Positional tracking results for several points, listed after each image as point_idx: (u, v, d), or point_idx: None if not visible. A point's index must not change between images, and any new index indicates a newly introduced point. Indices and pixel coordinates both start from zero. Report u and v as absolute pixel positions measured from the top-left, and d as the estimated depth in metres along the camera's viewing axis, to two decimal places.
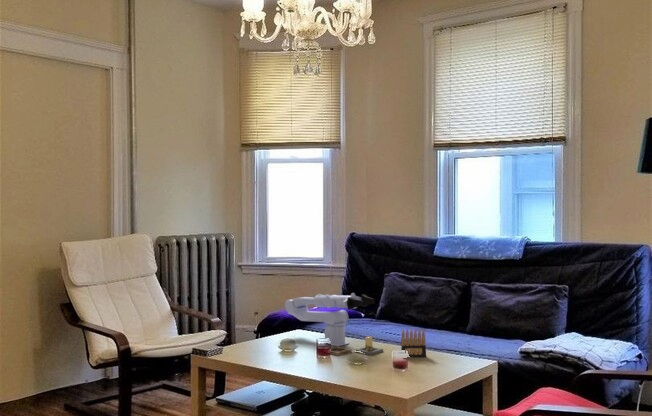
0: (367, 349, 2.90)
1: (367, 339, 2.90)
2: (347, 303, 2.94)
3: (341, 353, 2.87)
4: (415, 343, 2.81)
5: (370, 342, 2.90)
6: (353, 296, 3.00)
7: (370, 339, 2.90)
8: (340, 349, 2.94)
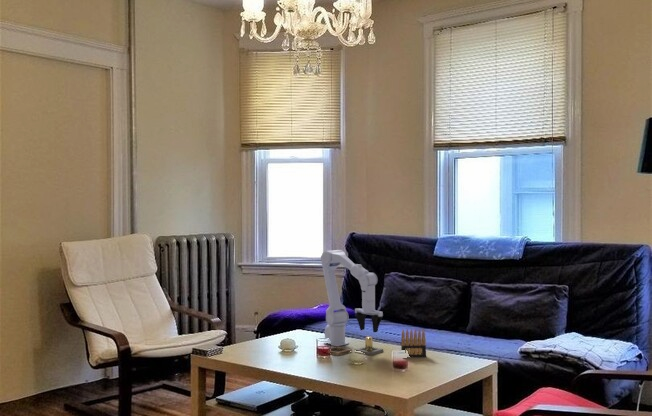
0: (367, 349, 2.90)
1: (367, 339, 2.90)
2: None
3: (341, 353, 2.87)
4: (415, 343, 2.81)
5: (370, 342, 2.90)
6: (364, 312, 2.89)
7: (370, 339, 2.90)
8: (340, 349, 2.94)
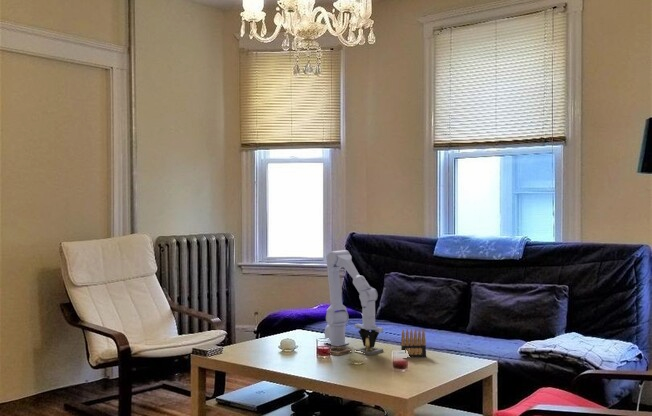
0: (367, 349, 2.90)
1: (367, 339, 2.90)
2: None
3: (341, 353, 2.87)
4: (415, 343, 2.81)
5: None
6: None
7: None
8: (340, 349, 2.94)
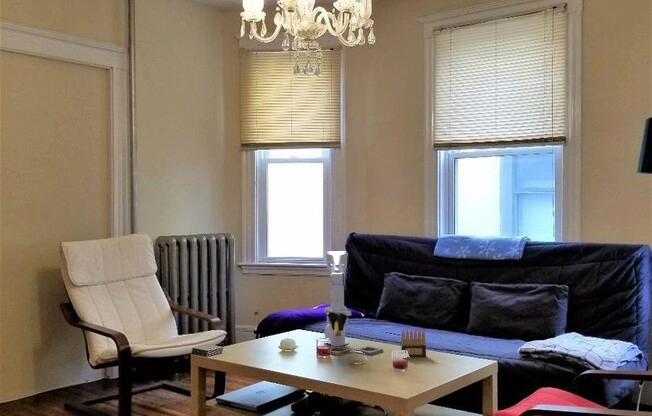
0: (336, 332, 2.90)
1: (336, 322, 2.90)
2: None
3: (341, 353, 2.87)
4: (415, 343, 2.81)
5: None
6: (333, 311, 2.89)
7: None
8: (340, 349, 2.94)
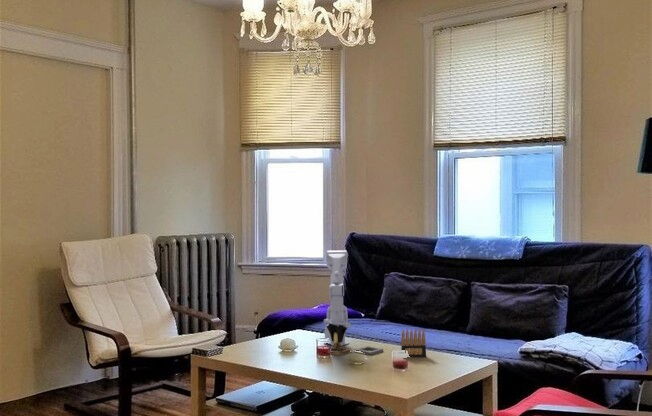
0: (335, 344, 2.90)
1: (335, 334, 2.90)
2: None
3: (341, 353, 2.87)
4: (415, 343, 2.81)
5: None
6: None
7: None
8: (340, 349, 2.94)
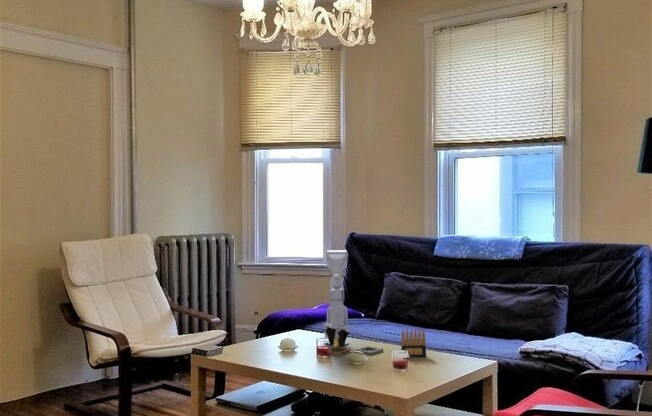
0: (335, 349, 2.90)
1: (335, 339, 2.90)
2: None
3: (341, 353, 2.87)
4: (415, 343, 2.81)
5: (338, 342, 2.90)
6: None
7: (338, 339, 2.90)
8: None
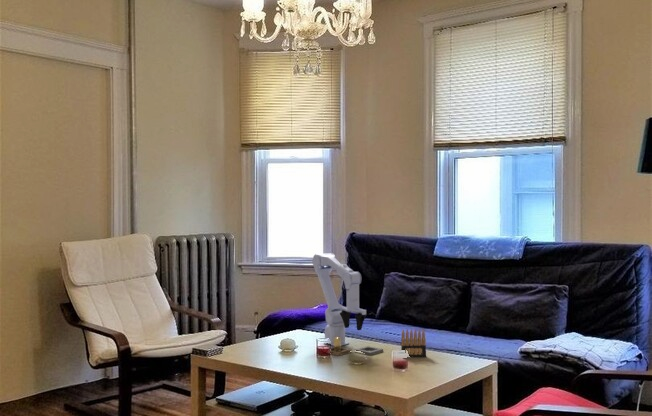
0: (335, 349, 2.90)
1: (335, 339, 2.90)
2: None
3: (341, 353, 2.87)
4: (415, 343, 2.81)
5: (338, 342, 2.90)
6: (348, 310, 2.94)
7: (338, 339, 2.90)
8: None
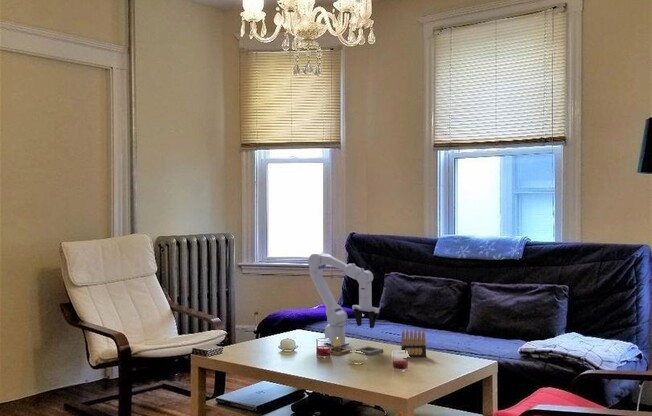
0: (335, 349, 2.90)
1: (335, 339, 2.90)
2: None
3: (341, 353, 2.87)
4: (415, 343, 2.81)
5: (338, 342, 2.90)
6: None
7: (338, 339, 2.90)
8: None
